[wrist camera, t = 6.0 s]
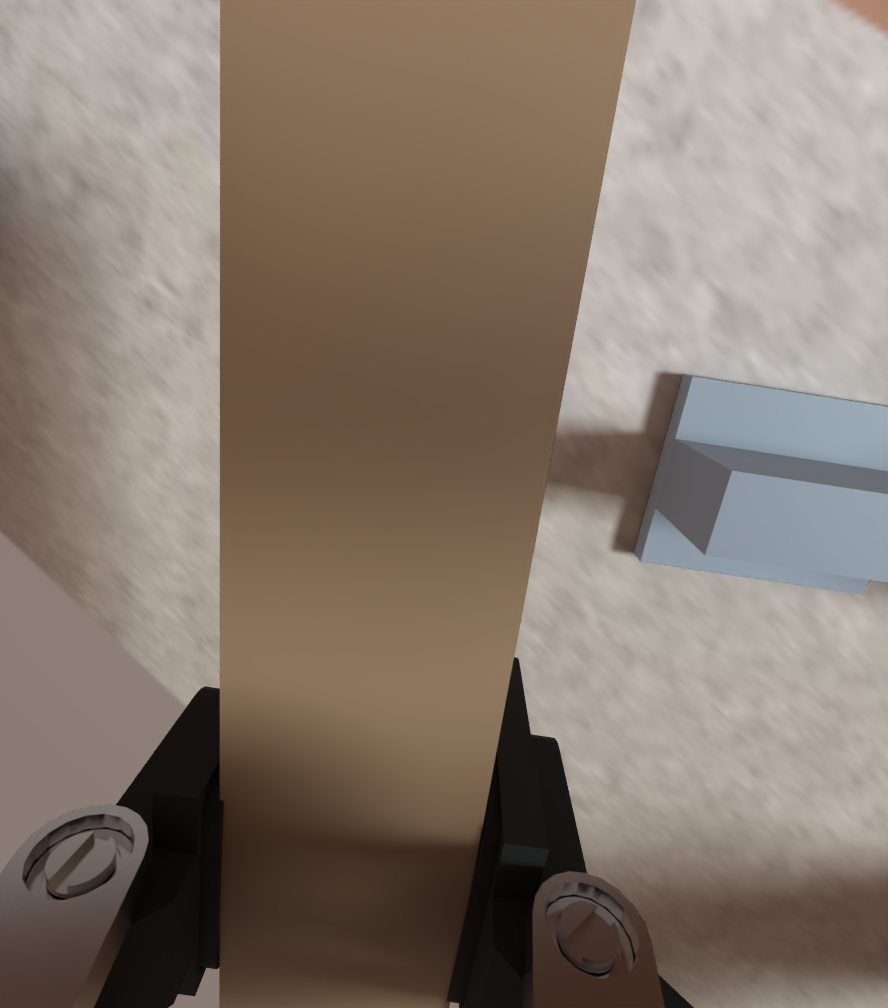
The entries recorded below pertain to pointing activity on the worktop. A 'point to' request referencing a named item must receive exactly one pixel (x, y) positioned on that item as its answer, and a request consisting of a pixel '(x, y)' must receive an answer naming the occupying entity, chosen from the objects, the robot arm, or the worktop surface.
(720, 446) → the fulcrum
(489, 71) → the walnut bar
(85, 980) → the robot arm
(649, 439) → the worktop surface
